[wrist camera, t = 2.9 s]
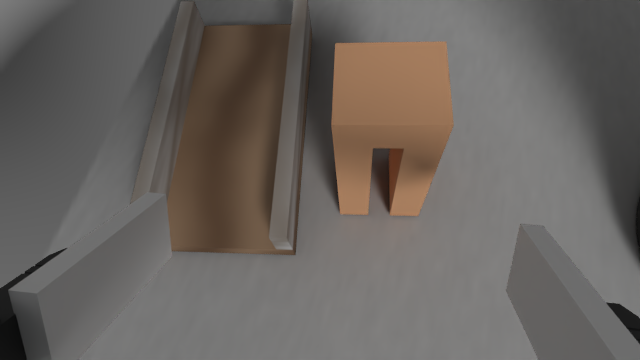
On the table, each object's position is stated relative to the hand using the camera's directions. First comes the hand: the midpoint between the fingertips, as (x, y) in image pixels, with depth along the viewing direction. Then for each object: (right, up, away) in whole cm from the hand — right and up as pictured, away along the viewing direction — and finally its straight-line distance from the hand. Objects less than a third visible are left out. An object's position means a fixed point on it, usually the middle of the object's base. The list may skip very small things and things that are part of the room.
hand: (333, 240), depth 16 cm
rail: (-6, +6, +15) cm, 17 cm away
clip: (+3, +2, +13) cm, 13 cm away
